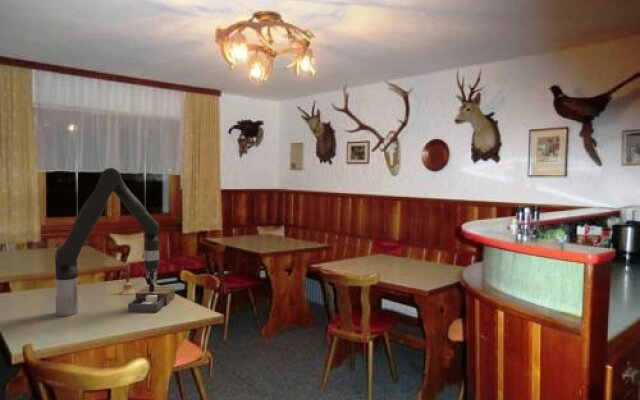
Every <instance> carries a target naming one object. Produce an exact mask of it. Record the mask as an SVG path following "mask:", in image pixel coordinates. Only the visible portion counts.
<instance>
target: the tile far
mask: <svg viewBox="0 0 640 400" xmlns="http://www.w3.org/2000/svg"><path fill="white" fill-rule="evenodd" d="M146 301H147V302H154V304H156V303H157V295H147V296H146Z"/></svg>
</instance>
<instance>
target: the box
mask: <svg viewBox="0 0 640 400" xmlns="http://www.w3.org/2000/svg"><path fill="white" fill-rule="evenodd" d="M144 301H146V298H140V297H137V298H136V297H135V298H134V299H133V300H132V301H131V302H129V303H127V304H128V305H127V312H128V313H156V314H157V313H158V312H159V311H161V310H162V309H163V307H164V306H166V305H165V298H157V303H156V304H141V303H142V302H144Z"/></svg>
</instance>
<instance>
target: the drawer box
mask: <svg viewBox="0 0 640 400" xmlns="http://www.w3.org/2000/svg"><path fill="white" fill-rule="evenodd" d="M175 289H176V288H175V286H154V292H149V286H144V287H143V288H141V289H140V290H138V291H136V293H135V299H136V298H137V297H140V298H146V296H147V295H157V298H165V306H168V305H169V304H170V303H171V302H172V301H173V300H174V299H176V298H175V297H176V295H175V294H176V290H175Z"/></svg>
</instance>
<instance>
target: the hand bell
mask: <svg viewBox="0 0 640 400" xmlns="http://www.w3.org/2000/svg"><path fill="white" fill-rule="evenodd" d="M130 272H131V268H130V265H129V264H126V265H125V268H124V274H125V277H126V278H125V281H126V282H125V283H123V286H122V290H121V291H120V292H119V294H120V295H122V296H128V295H129V296H130V295H135V294H136V293H137V291H136V290H135V289H134V288H133V283H132V282H130V274H131V273H130Z"/></svg>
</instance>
